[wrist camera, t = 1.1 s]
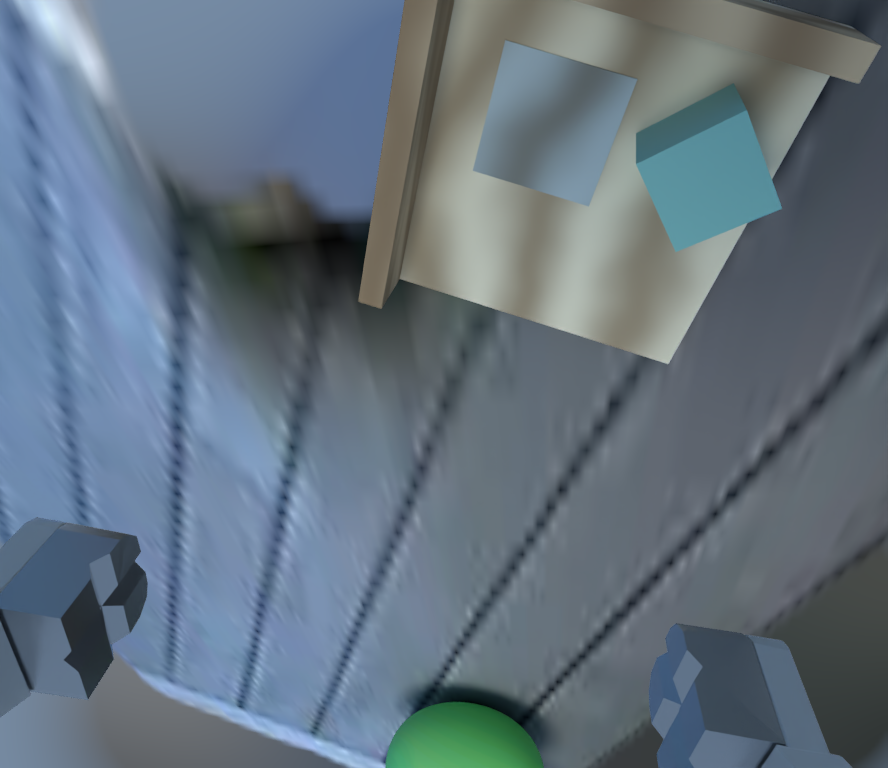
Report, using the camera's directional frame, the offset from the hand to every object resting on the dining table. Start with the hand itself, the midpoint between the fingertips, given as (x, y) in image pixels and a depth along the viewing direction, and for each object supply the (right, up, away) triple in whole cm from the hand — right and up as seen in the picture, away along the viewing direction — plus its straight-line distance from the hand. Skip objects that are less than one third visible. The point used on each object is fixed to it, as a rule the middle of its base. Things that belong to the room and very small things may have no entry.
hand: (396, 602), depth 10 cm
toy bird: (+5, -37, +69) cm, 78 cm away
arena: (+8, +16, +27) cm, 33 cm away
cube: (+14, +16, +24) cm, 32 cm away
